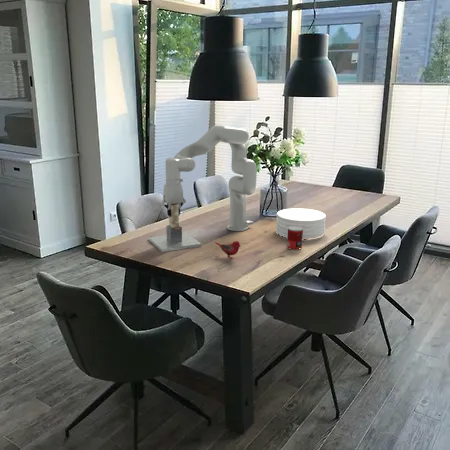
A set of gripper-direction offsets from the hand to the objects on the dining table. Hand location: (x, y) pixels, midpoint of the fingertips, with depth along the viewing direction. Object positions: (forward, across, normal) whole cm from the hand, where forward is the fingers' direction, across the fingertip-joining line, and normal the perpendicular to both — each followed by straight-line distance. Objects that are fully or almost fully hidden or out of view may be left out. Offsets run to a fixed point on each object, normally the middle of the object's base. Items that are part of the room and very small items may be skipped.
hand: (173, 215), depth 267 cm
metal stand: (+16, 0, 0) cm, 16 cm away
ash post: (+14, 0, 0) cm, 14 cm away
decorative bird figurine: (+16, -16, +32) cm, 39 cm away
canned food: (+16, -55, +34) cm, 67 cm away
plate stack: (+16, -73, +13) cm, 76 cm away
